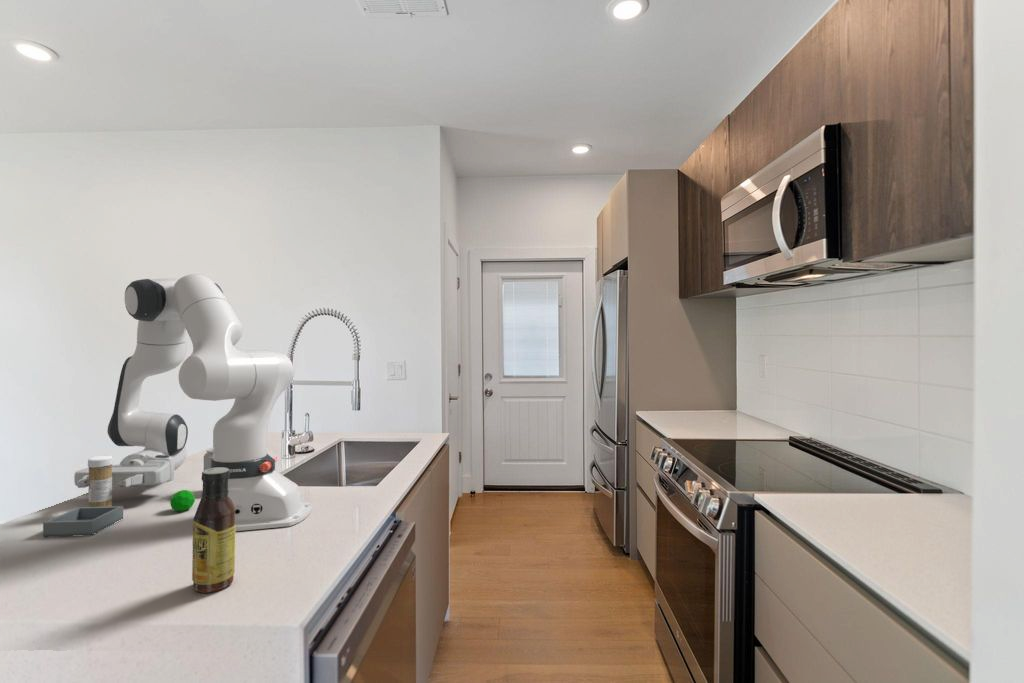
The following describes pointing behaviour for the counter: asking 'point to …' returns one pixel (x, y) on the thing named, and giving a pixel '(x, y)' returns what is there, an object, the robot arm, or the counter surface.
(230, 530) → the sauce bottle
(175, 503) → the polyhedron
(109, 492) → the sprinkles bottle
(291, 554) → the counter surface
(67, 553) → the counter surface
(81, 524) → the bin
